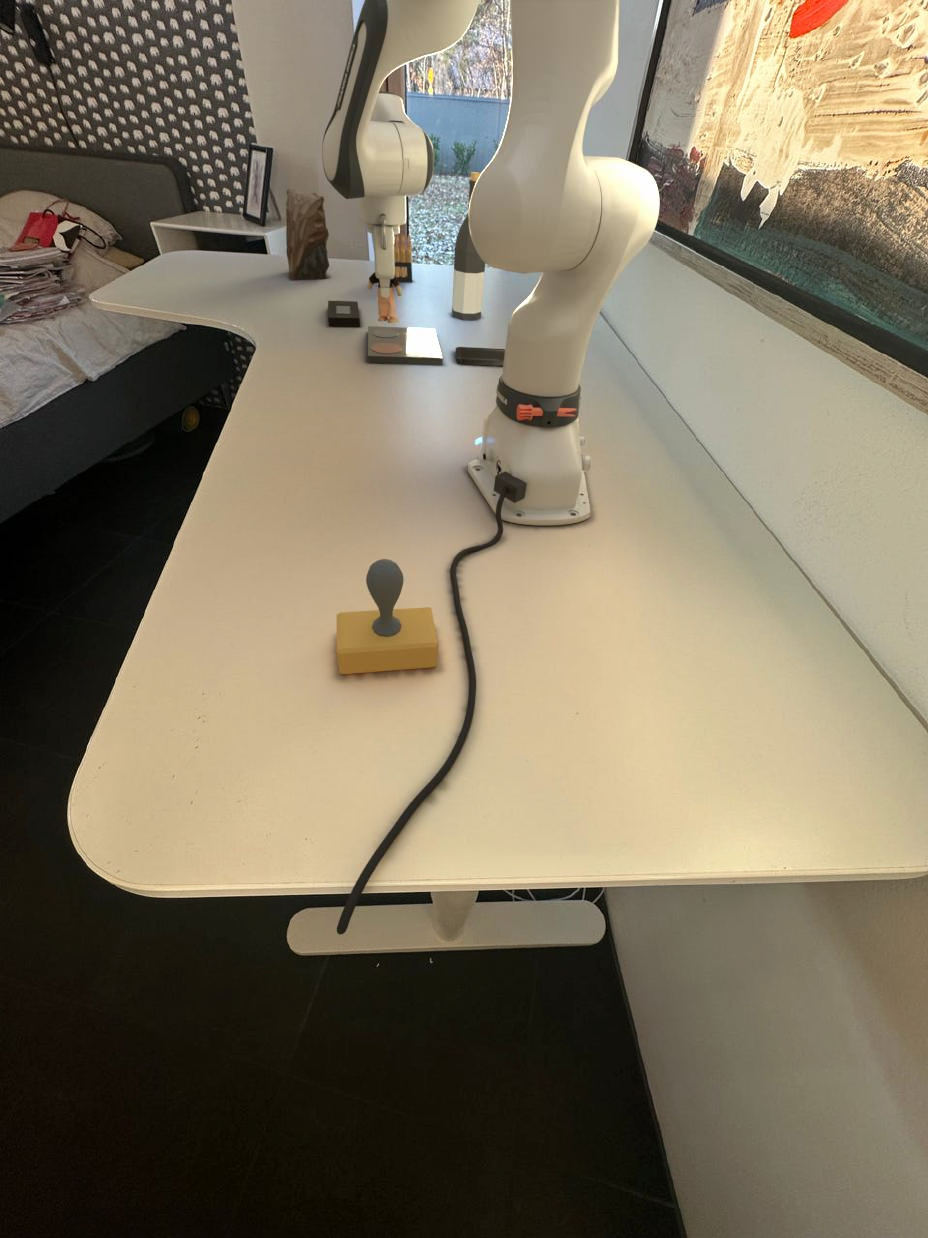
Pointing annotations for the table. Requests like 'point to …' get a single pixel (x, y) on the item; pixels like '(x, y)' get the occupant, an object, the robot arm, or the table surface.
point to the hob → (403, 346)
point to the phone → (480, 356)
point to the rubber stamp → (386, 629)
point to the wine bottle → (467, 271)
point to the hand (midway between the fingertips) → (384, 293)
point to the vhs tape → (343, 313)
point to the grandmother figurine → (386, 299)
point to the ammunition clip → (403, 260)
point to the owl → (306, 236)
